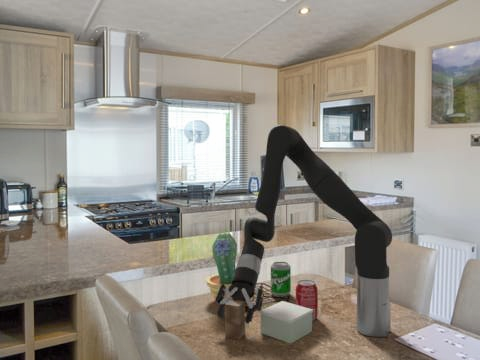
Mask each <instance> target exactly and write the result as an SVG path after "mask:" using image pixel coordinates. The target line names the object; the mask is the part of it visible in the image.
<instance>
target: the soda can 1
mask: <svg viewBox="0 0 480 360" xmlns="http://www.w3.org/2000/svg"><path fill="white" fill-rule="evenodd" d="M291 267H292V266H291V265H290V264H289V263H288V262H287V261H275V262H273V263H272V264H271V265H270V293H271V294H272V295H273V296H274V297H278V298H285V297H288V296H289V295H290V294H291V286H292V285H291V283H292V282H291V277H292V276H291V273H292V272H291V270H292V269H291ZM284 296H285V297H284Z"/></svg>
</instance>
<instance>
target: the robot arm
mask: <svg viewBox="0 0 480 360" xmlns="http://www.w3.org/2000/svg"><path fill="white" fill-rule="evenodd" d="M265 151H266V152H265V160H264V167H263V173H262V179H261V183H260V187H259V191H258V192H257V193H258V194H257V197H256V202H255V206H254V208H255V210H256V211H257V212H259V213H260V214H262V215H264V216H265V218H266V219H265V220H264V219H261V218H258V217H256V216H255V217H253V216H250V217H248V218H247V219H246V220H245V222H244V225H243V226H244V227H243V237H244V239H243V241H244V242H243V246H242V249H241V253H240V257H239V259H238V261H237V264H236V266H235V268H236V270H235V273H234V277H233V280H232V284H231V286H230V287H227V286H224V284H222V285H221V286H220V289H219V292H218V294H217V297H216V299H215V298H214V302H215V301H216V302H217V303H216V302H215V303H216V304H217V305H218V311H217V314H216V315H217V316H218V318H219V320H223V319H224V317H225V304H226V303H227V302H228V301H230V300H231V299H232V300H239V301H245V303H246V304H247V306H248V308H247V311H246V313H245V324H250V323H251V322H252V320H253V317H254V314H255V312H256V311H258V312H260V311H261V310H262V306H263V301H264V296H265V293H264V291H263V289H261V288H259V289H256V286H257V283H258V280H259V276H260V273H261V265H262V260H263V257H264V254H265V246H264V245H263V243H261V242H259V241H262V242H265V243H270V242H271V241H272V240H273V239H274V237H275V232H276V231H275V230H276V229H275V228H276V227H275V218H276V217H275V216H276V209H277V205H278V202H279V198H280V195H281V188H282V187H281V186H282V168H283V164H284V161H285V158H286V157H287V158H288V159H289V160H290V161H291V162H292V163H293V164H294V165H295V166H296V167H297V168H298V170H299V171H300V172H301V174H302V176H303V178H304V180H305V181H306V184H307V185H308V187H309V188H310V190H311V191H312V192H313V193H314V194H315V196H316V197H317V199H319V200H320V202H322V203H323V204H324V205H325V206H327V207H328V208H330V209H331V210H333V211H334V212H336V213H337V214H339V215H340V216H342V217H343V218H345V219H346V220H347V221H348V222H349V223H350V224H351V225H352V226H353V227H354V229H355V230H356V232H355V235H354V262H355V267H356V330H357V332H358V333H360V334H362V335H364V336H368V337H372V338H373V337H375V338H380V337H382V338H386V337H388V334H389V333H390V331H391V320H392V319H391V316H392V315H391V310H392V308H391V306H392V303H391V302H392V300H391V299H390V266H389V265H388V263H387V259H388V258H387V248H388V247H389V246H390V245H391V244H392V242H393V241H392V240H393V233H392V230H391V228H390V227H389V226H388V224H387V223H386V222H384V220H382V219H381V218H380V217H379V216H378V215H376V213H374V212H373V211H372V210H371V209H369V207H368V206H366V205H365V203H363V202H362V201H361V199H360V198H359V197H358V196H357V195H356V193H355V192H354V191H353V190H352V189H351V188H350V187H349V186H348V185H347V183H346V182H345V181H344V180H343V179H342V178H341V177H340V176H339V175H338V174H337V173H336V171H334V170H333V169H332V168H331V167H330V166H329V165H328V164H327V163H326V162H325V161H324V160H323V159H322V158H320V157H319V155H317V153H315V152H314V151H313V150H312V148H311V147H310V146H309V144H308V143H307V141H305V139H304V138H303V136H302V135H301V134H300V133H299V131H298V130H296V129H295V128H293V127H290V126H287V125H285V124H284V125H283V124H279V125H275V126H273V128H271V130H270V131H269V133H268V135H267V142H266V150H265ZM257 240H258V241H257ZM228 291H229V292H230V293H229V294H227V295H226V296H225V298H224V295H225V294H226V293H227V292H228ZM254 296H255V297H256V300H255V304H253V301H252V300H251V299H252V298H253V297H254ZM231 297H232V298H231ZM223 298H224V299H223ZM230 298H231V299H230Z"/></svg>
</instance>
